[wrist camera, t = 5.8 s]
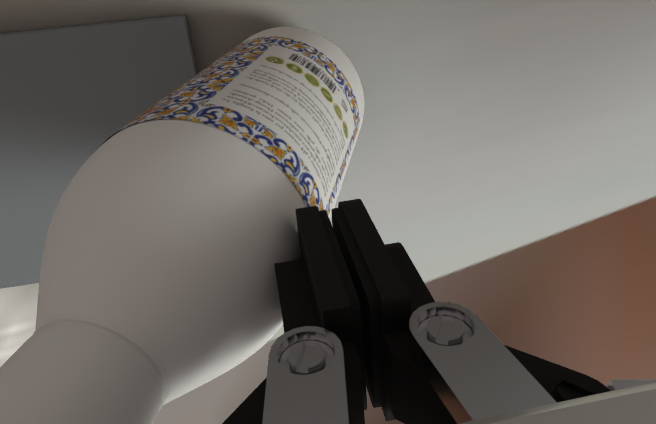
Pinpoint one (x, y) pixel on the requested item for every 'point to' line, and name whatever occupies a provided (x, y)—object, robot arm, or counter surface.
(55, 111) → the mat
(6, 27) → the counter surface
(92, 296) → the bath foam
